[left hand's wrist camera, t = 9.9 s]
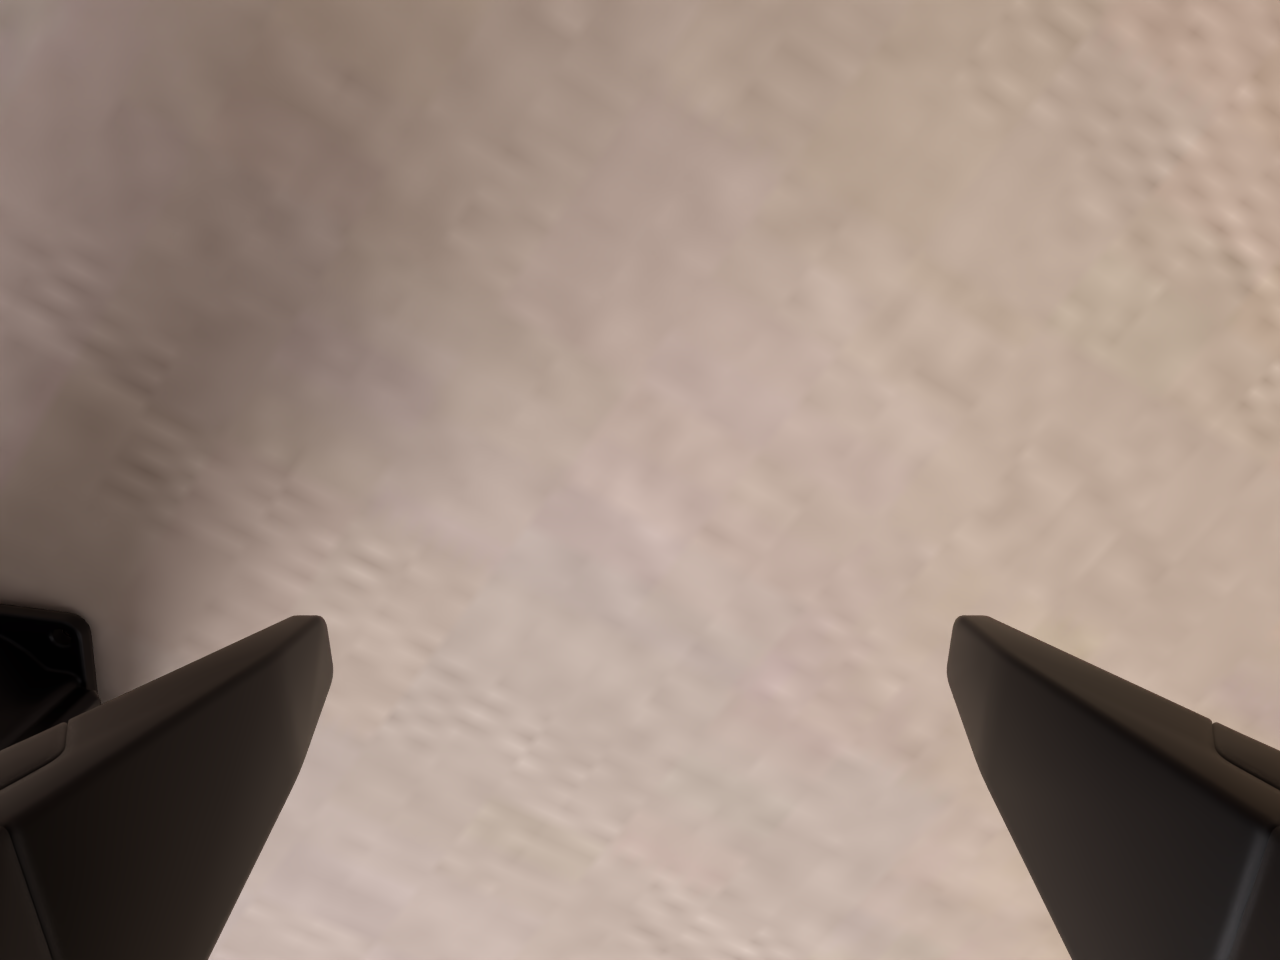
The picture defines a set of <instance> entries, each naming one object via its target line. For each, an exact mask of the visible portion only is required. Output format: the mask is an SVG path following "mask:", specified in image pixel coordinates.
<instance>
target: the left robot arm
mask: <svg viewBox="0 0 1280 960" xmlns="http://www.w3.org/2000/svg"><path fill="white" fill-rule="evenodd" d="M62 630H65V631H66V632H68V633H69V634H70V636H71V637H68V636H67V635H65V634H64V633H63V631H62ZM332 677H333V663H332V656H331V650H330V643H329V637H328V630H327V625H326V622H325V620H324V619H323V618H322V617H321V616H317V615H297V616H292V617H289V618H287V619H285V620H283V621H281V622H279V623H276V624H274V625H272V626H270V627H268V628H266V629H263V630H261V631H259V632H257V633H255V634H253V635H250V636H248V637H246V638H244V639H242V640H240V641H238V642H235V643H233V644H231V645H229V646H227V647H225V648H222V649H220V650H218V651H216V652H214V653H212V654H209V655H207V656H205V657H203V658H201V659H199V660H197V661H194V662H192V663H190V664H188V665H186V666H184V667H181V668H179V669H177V670H175V671H173V672H171V673H168V674H166V675H164V676H162V677H160V678H158V679H156V680H153V681H151V682H149V683H147V684H145V685H143V686H140V687H138V688H136V689H134V690H132V691H130V692H128V693H125V694H123V695H121V696H119V697H117V698H115V699H112V700H110V701H108V702H106V703H104V704H102V705H101V702H100V698H99V696H98V693H97V683H96V674H95V665H94V655H93V646H92V636H91V630H90V627H89V625H88V624H87V622H86V621H85V620H84V619H83V618H81V617H80V616H78V615H76V614H72V613H68V612H60V611H52V610H44V609H36V608H28V607H20V606H12V605H4V604H0V960H208V958H209V956H210V954H211V952H212V950H213V948H214V946H215V944H216V942H217V940H218V938H219V936H220V934H221V932H222V930H223V928H224V926H225V924H226V922H227V920H228V918H229V916H230V914H231V912H232V910H233V907H234V905H235V903H236V901H237V899H238V897H239V895H240V893H241V891H242V889H243V887H244V885H245V883H246V881H247V879H248V877H249V875H250V873H251V871H252V869H253V867H254V865H255V863H256V861H257V859H258V857H259V855H260V853H261V851H262V849H263V846H264V844H265V842H266V840H267V838H268V836H269V834H270V832H271V830H272V828H273V826H274V824H275V822H276V820H277V818H278V816H279V814H280V812H281V810H282V808H283V806H284V804H285V802H286V800H287V798H288V796H289V794H290V792H291V790H292V787H293V785H294V783H295V781H296V779H297V777H298V774H299V772H300V770H301V767H302V764H303V762H304V759H305V756H306V754H307V751H308V748H309V745H310V742H311V739H312V737H313V734H314V731H315V728H316V725H317V722H318V720H319V717H320V714H321V711H322V708H323V705H324V703H325V700H326V697H327V694H328V691H329V688H330V686H331V682H332ZM947 678H948V682H949V686H950V688H951V691H952V694H953V697H954V700H955V703H956V705H957V708H958V711H959V714H960V717H961V720H962V722H963V725H964V728H965V731H966V734H967V737H968V739H969V742H970V745H971V748H972V751H973V754H974V757H975V759H976V762H977V764H978V767H979V770H980V772H981V774H982V777H983V779H984V781H985V783H986V785H987V787H988V790H989V792H990V794H991V796H992V798H993V800H994V802H995V804H996V806H997V808H998V810H999V812H1000V814H1001V816H1002V818H1003V820H1004V822H1005V824H1006V826H1007V828H1008V830H1009V832H1010V834H1011V836H1012V838H1013V840H1014V842H1015V844H1016V847H1017V849H1018V851H1019V853H1020V855H1021V857H1022V859H1023V861H1024V863H1025V865H1026V867H1027V869H1028V871H1029V873H1030V875H1031V877H1032V879H1033V881H1034V883H1035V885H1036V887H1037V889H1038V891H1039V893H1040V895H1041V897H1042V899H1043V901H1044V903H1045V906H1046V908H1047V910H1048V912H1049V914H1050V916H1051V918H1052V920H1053V922H1054V924H1055V926H1056V928H1057V930H1058V932H1059V934H1060V936H1061V938H1062V940H1063V942H1064V944H1065V946H1066V948H1067V950H1068V952H1069V954H1070V956H1071V958H1072V960H1280V751H1279V750H1277V749H1275V748H1272V747H1270V746H1268V745H1266V744H1263V743H1261V742H1259V741H1257V740H1254V739H1252V738H1250V737H1248V736H1246V735H1243V734H1241V733H1239V732H1237V731H1235V730H1233V729H1230V728H1228V727H1226V726H1224V725H1222V724H1220V723H1217V722H1215V723H1213V724H1212V721H1211V720H1210V719H1209V718H1206V717H1204V716H1202V715H1200V714H1198V713H1196V712H1193V711H1191V710H1189V709H1187V708H1185V707H1183V706H1181V705H1178V704H1176V703H1174V702H1172V701H1170V700H1168V699H1165V698H1163V697H1161V696H1159V695H1157V694H1155V693H1152V692H1150V691H1148V690H1146V689H1144V688H1142V687H1140V686H1137V685H1135V684H1133V683H1131V682H1129V681H1127V680H1124V679H1122V678H1120V677H1118V676H1116V675H1114V674H1111V673H1109V672H1107V671H1105V670H1103V669H1101V668H1099V667H1096V666H1094V665H1092V664H1090V663H1088V662H1086V661H1083V660H1081V659H1079V658H1077V657H1075V656H1073V655H1071V654H1068V653H1066V652H1064V651H1062V650H1060V649H1058V648H1055V647H1053V646H1051V645H1049V644H1047V643H1045V642H1042V641H1040V640H1038V639H1036V638H1034V637H1032V636H1030V635H1027V634H1025V633H1023V632H1021V631H1019V630H1017V629H1014V628H1012V627H1010V626H1008V625H1006V624H1004V623H1001V622H999V621H997V620H995V619H993V618H991V617H988V616H983V615H963V616H959V617H958V618H957V619H956V620H955V622H954V625H953V630H952V637H951V643H950V650H949V656H948V663H947Z"/></svg>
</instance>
